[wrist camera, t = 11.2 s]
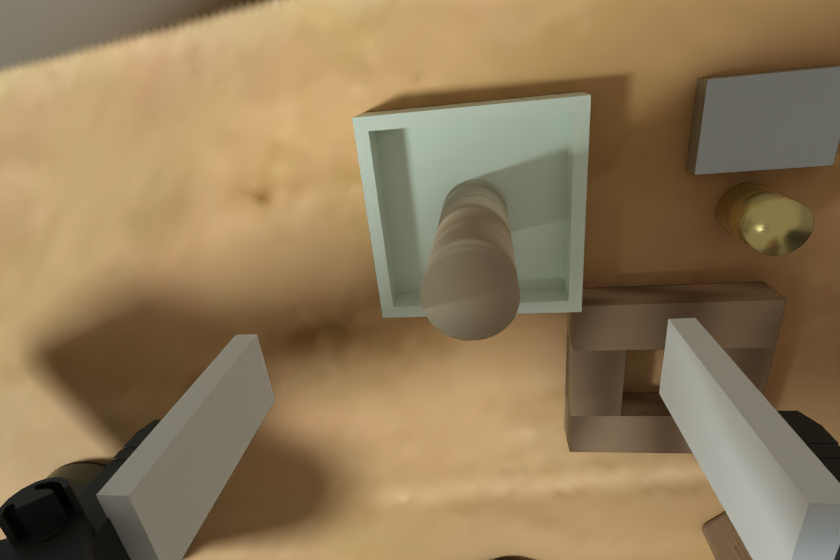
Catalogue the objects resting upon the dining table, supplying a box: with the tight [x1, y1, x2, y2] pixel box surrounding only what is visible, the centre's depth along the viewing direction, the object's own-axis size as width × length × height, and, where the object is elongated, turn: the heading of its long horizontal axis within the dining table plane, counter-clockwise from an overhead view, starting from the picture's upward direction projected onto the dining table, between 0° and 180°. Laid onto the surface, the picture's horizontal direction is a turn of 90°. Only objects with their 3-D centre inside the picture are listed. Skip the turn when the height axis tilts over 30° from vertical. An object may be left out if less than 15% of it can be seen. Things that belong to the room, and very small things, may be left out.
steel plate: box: [687, 65, 840, 175], centre depth 26 cm, size 7×5×1 cm
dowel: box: [420, 180, 520, 340], centre depth 25 cm, size 4×4×12 cm
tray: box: [352, 92, 591, 318], centre depth 29 cm, size 13×13×2 cm
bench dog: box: [716, 183, 814, 256], centre depth 27 cm, size 3×3×4 cm
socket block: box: [564, 282, 786, 453], centre depth 33 cm, size 12×12×2 cm
